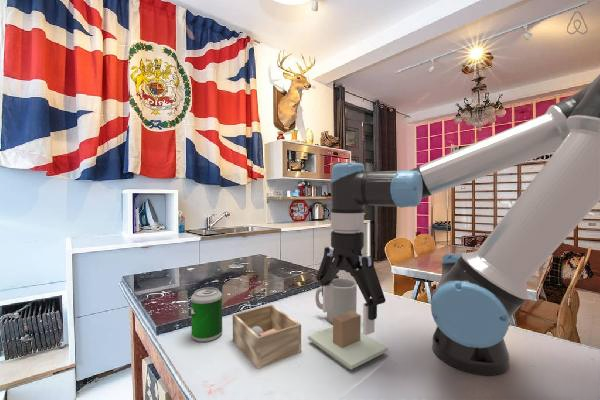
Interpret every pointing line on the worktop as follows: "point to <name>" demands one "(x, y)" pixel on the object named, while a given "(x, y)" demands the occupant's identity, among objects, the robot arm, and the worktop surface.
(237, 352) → the worktop surface
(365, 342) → the lid
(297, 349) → the crate
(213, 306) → the soda can
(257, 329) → the ball
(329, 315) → the mug
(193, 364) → the worktop surface
